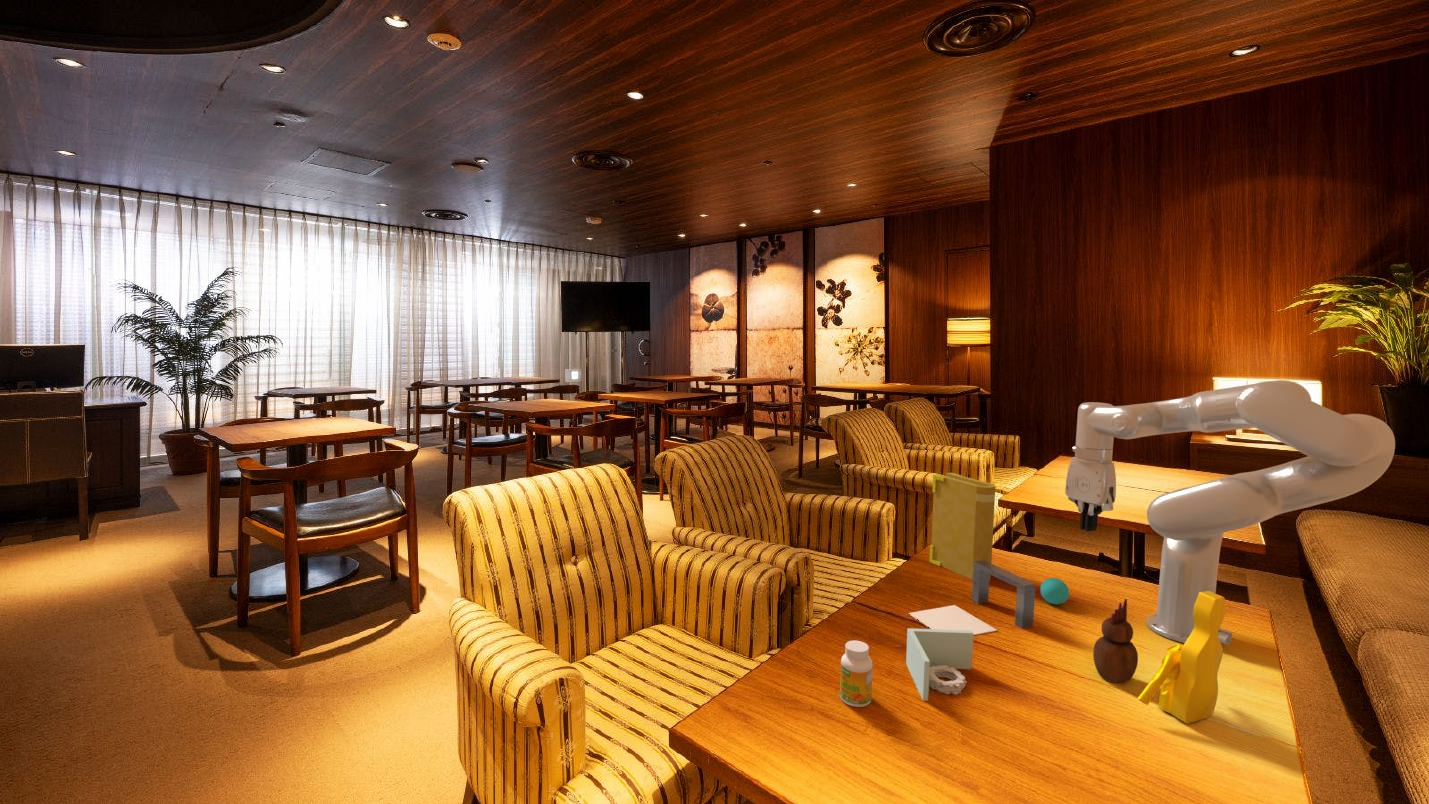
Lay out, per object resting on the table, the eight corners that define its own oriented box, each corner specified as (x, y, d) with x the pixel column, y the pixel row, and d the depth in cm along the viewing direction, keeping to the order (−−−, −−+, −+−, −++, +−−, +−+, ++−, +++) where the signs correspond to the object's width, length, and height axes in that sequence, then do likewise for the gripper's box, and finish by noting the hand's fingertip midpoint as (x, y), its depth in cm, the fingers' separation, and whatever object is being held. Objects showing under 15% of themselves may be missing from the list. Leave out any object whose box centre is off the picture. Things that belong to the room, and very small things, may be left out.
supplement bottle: (834, 700, 106) (835, 647, 105) (848, 686, 110) (849, 635, 109) (863, 712, 102) (865, 657, 101) (876, 697, 106) (878, 644, 105)
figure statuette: (1195, 691, 109) (1206, 573, 106) (1246, 717, 101) (1259, 590, 99) (1125, 712, 102) (1135, 586, 100) (1173, 741, 95) (1185, 606, 93)
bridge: (981, 598, 147) (983, 560, 146) (1032, 626, 133) (1035, 583, 132) (971, 600, 146) (973, 561, 145) (1022, 628, 132) (1024, 585, 131)
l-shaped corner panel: (922, 702, 106) (924, 661, 105) (906, 665, 118) (907, 628, 117) (993, 705, 105) (995, 664, 104) (969, 667, 117) (971, 630, 116)
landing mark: (996, 630, 131) (997, 630, 131) (947, 640, 126) (947, 639, 126) (954, 605, 143) (954, 605, 143) (908, 613, 139) (908, 613, 139)
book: (929, 561, 171) (933, 474, 169) (947, 558, 174) (951, 472, 172) (977, 583, 156) (982, 488, 154) (996, 579, 159) (1001, 485, 156)
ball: (1074, 606, 143) (1076, 582, 142) (1055, 610, 141) (1056, 585, 140) (1052, 596, 148) (1054, 572, 148) (1033, 599, 146) (1035, 575, 146)
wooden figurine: (1120, 669, 116) (1126, 593, 114) (1142, 686, 110) (1149, 607, 108) (1085, 669, 116) (1091, 594, 114) (1106, 687, 110) (1112, 607, 108)
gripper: (1054, 449, 150) (1049, 522, 152) (1112, 461, 136) (1106, 541, 138) (1076, 448, 152) (1072, 519, 154) (1136, 459, 138) (1129, 537, 140)
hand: (1088, 529), depth 146 cm, fingers closed
